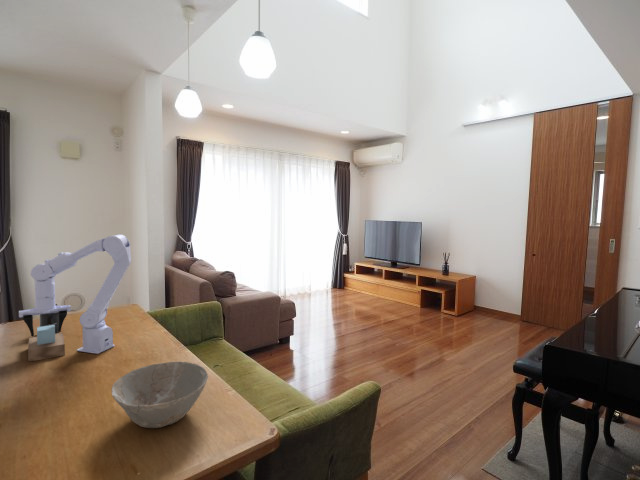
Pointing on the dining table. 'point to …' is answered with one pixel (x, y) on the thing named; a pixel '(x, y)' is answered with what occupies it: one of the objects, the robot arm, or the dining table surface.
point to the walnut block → (46, 348)
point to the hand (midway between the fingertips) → (46, 333)
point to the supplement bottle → (50, 320)
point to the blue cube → (45, 334)
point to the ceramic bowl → (159, 392)
